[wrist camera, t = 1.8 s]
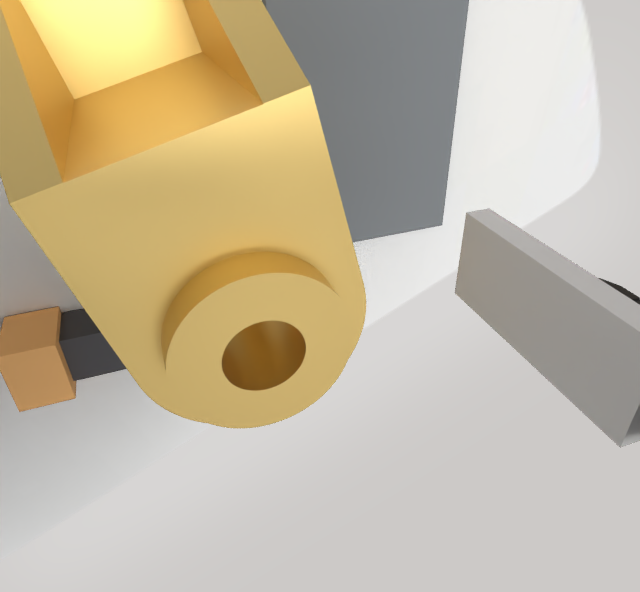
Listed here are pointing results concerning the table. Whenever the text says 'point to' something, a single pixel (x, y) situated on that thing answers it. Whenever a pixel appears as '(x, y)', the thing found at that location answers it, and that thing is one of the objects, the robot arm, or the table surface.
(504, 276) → the robot arm
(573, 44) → the table surface
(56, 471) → the table surface
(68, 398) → the dark grey bar
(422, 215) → the mat
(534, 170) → the table surface
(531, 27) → the table surface
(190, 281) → the gold clevis bracket
